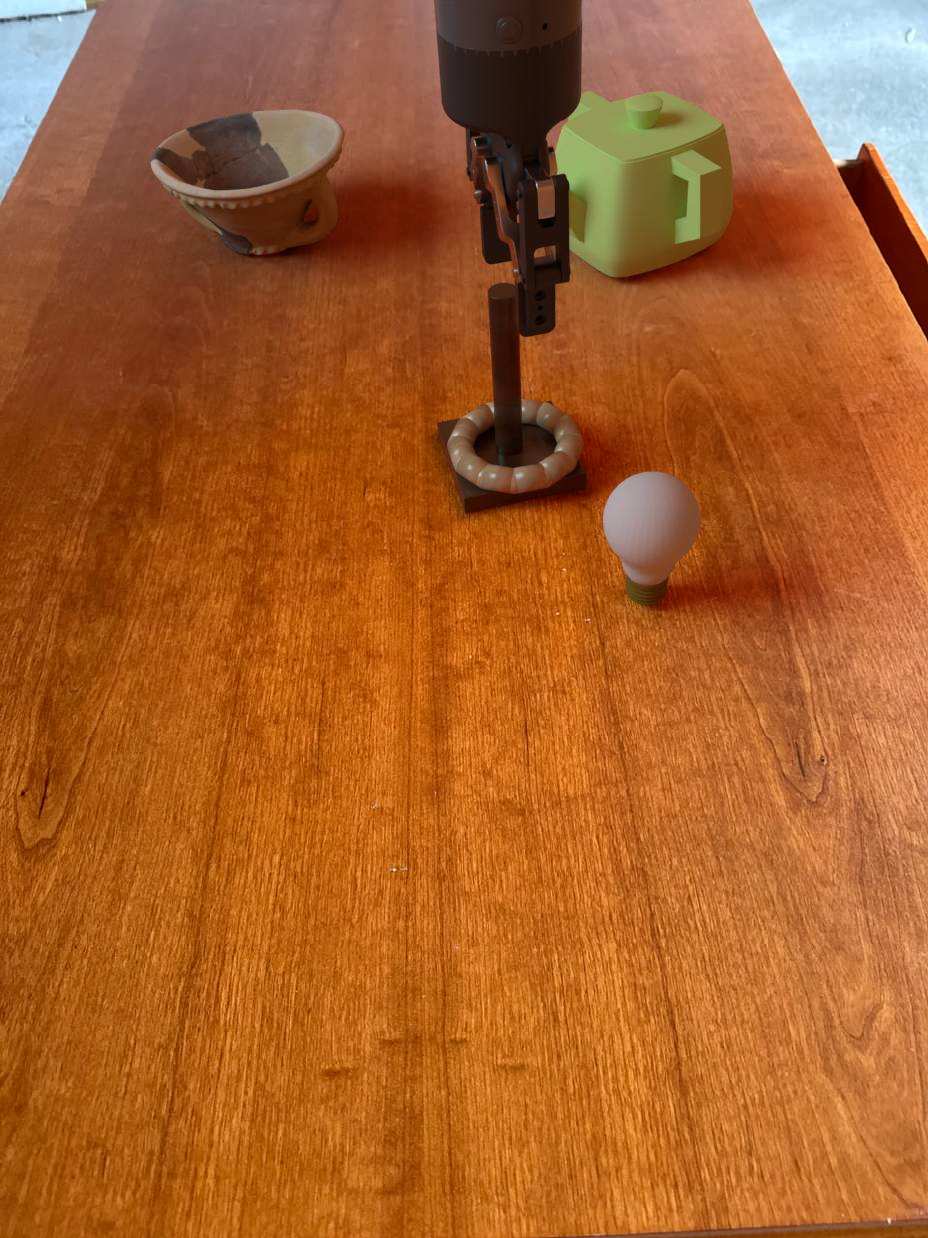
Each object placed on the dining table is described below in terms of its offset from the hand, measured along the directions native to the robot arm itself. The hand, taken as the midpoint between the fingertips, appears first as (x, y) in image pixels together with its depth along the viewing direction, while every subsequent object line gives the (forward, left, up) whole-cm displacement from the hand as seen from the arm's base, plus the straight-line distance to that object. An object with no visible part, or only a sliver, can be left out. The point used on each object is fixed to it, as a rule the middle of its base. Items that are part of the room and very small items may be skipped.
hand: (517, 294), depth 70 cm
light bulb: (-5, +12, -17) cm, 21 cm away
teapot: (-17, -30, -17) cm, 38 cm away
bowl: (+14, -43, -17) cm, 48 cm away
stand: (0, -4, -16) cm, 17 cm away
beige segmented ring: (0, -3, -14) cm, 14 cm away
